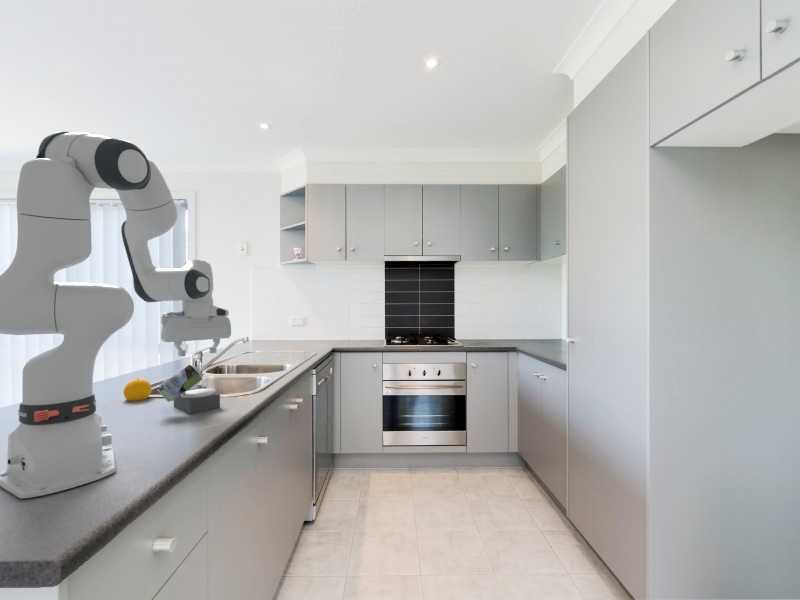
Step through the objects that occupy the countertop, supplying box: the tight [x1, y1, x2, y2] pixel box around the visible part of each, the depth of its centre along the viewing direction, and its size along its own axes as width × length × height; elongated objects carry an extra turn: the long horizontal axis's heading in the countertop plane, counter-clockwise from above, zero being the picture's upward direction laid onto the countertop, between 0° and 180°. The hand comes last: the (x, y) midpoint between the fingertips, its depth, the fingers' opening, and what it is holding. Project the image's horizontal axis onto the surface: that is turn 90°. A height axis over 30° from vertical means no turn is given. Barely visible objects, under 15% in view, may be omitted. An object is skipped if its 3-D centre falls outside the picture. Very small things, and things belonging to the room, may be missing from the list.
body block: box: [173, 383, 221, 415], centre depth 120 cm, size 13×10×6 cm
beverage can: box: [157, 364, 203, 403], centre depth 114 cm, size 6×7×12 cm
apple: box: [123, 378, 152, 402], centre depth 130 cm, size 8×8×8 cm
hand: (198, 354), depth 119 cm, fingers open, 8 cm apart
